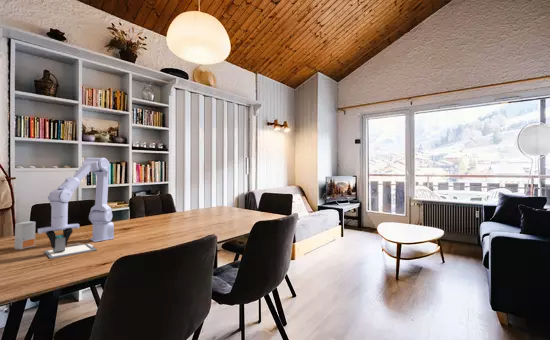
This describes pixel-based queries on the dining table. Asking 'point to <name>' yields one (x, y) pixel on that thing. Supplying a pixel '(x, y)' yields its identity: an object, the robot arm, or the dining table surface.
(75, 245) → the word placard
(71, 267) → the dining table surface
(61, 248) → the teal-capped grey stamp
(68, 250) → the clipboard
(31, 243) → the skincare box
